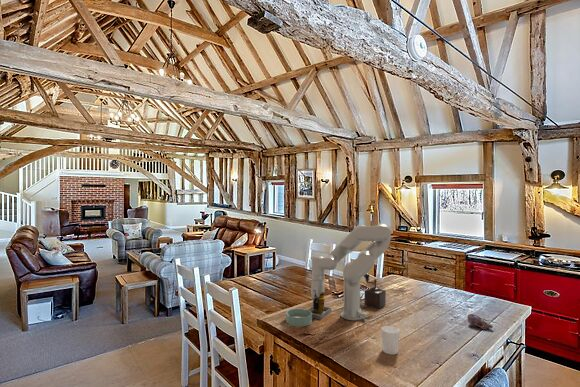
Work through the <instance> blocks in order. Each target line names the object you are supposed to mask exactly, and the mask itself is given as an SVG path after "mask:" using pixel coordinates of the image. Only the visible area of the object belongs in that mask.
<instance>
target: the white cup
mask: <svg viewBox="0 0 580 387" xmlns="http://www.w3.org/2000/svg"><path fill="white" fill-rule="evenodd" d="M381 344H382V351H383V353H385V354H386V355H396V354H398V353H399V344H400V329H399V328H397V327H396V326H393V325H384V326H381Z"/></svg>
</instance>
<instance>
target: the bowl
mask: <svg viewBox="0 0 580 387" xmlns="http://www.w3.org/2000/svg"><path fill="white" fill-rule="evenodd" d="M307 309H308V308H306V309H305V308H300V307H299V308H290V309H288V310H287V311H286V312H285V322H286V324H288V325H289V326H293V327H308V326H310V325H312V323H313V318H312V312H311V311H309V310H307Z"/></svg>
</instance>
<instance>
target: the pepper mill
mask: <svg viewBox="0 0 580 387" xmlns="http://www.w3.org/2000/svg"><path fill="white" fill-rule="evenodd" d="M363 278H364V279H365V282H366V284H374V286H372V287H369V288H367V289H365V290H364V293H363V294H364V300H363V301H364V306H366V305H367V307H371V308H374V309H381V308H383V307H385V306H386V304H387V303H386V302H387V294H386V293H387V290H385V289H382V288H380V287H379V286H378V285H377V279H373V281H370V274H369V273H367V274H365V275H364V276H363Z"/></svg>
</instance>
